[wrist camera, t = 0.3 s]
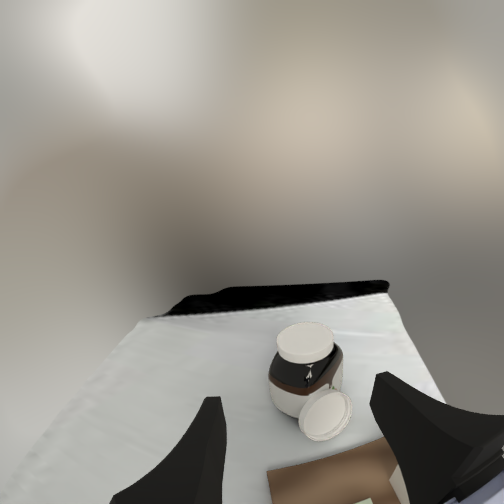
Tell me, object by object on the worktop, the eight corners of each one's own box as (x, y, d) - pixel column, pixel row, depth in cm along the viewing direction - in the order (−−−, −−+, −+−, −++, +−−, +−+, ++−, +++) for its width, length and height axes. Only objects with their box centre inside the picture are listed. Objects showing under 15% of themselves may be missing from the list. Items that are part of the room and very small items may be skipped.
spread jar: (306, 372, 40) (302, 311, 37) (370, 393, 33) (378, 328, 29) (256, 420, 32) (240, 358, 29) (326, 455, 24) (329, 395, 21)
